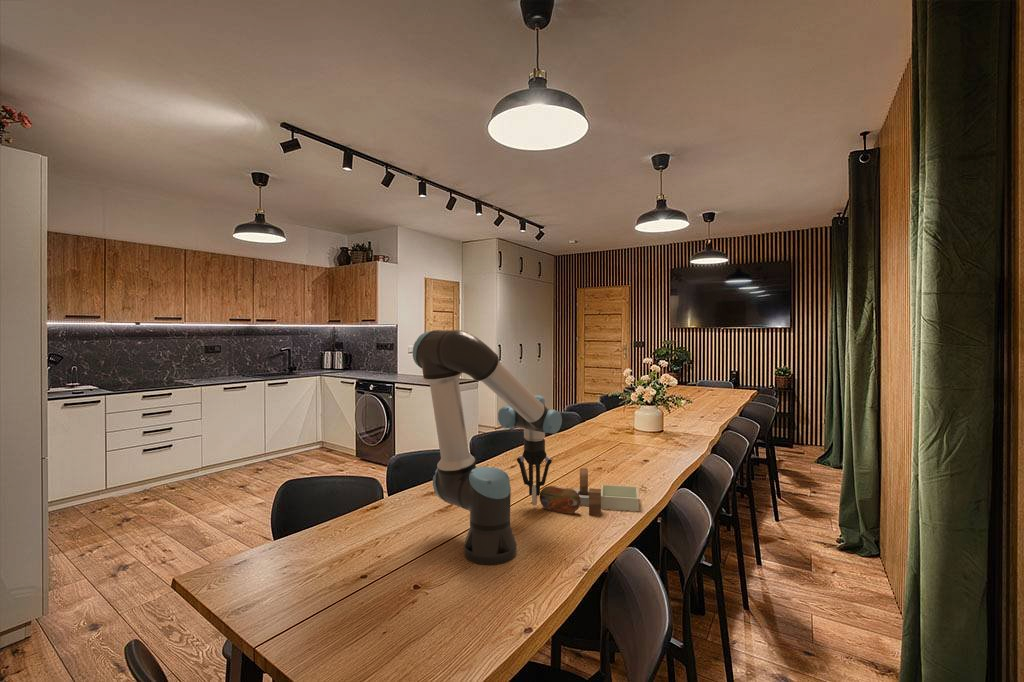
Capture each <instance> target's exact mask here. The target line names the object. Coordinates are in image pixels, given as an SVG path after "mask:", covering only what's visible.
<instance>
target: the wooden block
mask: <svg viewBox="0 0 1024 682" xmlns="http://www.w3.org/2000/svg"><path fill="white" fill-rule="evenodd" d="M588 490H589V506H588V515H589V516H599V517H600V516H601V515H602V509H601V488H592V487H591V488H590V487H588Z"/></svg>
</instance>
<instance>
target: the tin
mask: <svg viewBox="0 0 1024 682" xmlns="http://www.w3.org/2000/svg"><path fill="white" fill-rule="evenodd" d="M573 489H574V488H569V487H563V486H555V485H548V486H546V487H543V488H542V489H540V494H539V502H540V504H541V506H542V507H543V508H544V509H545V510H547V511H550V512H551V511H552V512H557V513H562V514H569V515H571V514H572V515H573V514H574V513H576V512H577V510H579V509H580V507H581V505H580V503H581V501H580V496H579V494H578V493H577V492H576V491H575V490H573Z"/></svg>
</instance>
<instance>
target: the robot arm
mask: <svg viewBox="0 0 1024 682" xmlns="http://www.w3.org/2000/svg"><path fill="white" fill-rule="evenodd" d="M412 358H413V361H414V363H415V365H417V366H418V368H420V369H421V370H422V377H423V379H424V381H426V382H427V383H429V388H430V394H431V402H432V407H433V414H434V420H435V428H436V434H437V439H438V445H439V447H438V448H439V453H440V460H439V461H438V462H437V465H436V467H437V468H436V470H435V471H434V473H435V474H434V475H433V477H432V487H433V490H434V494H435V495H436V496H437V497H438V498H439V499H441V500H442V501H444V502H445V503H447V504H449V505H454V506H456V507H459V508H461V509H463V510H467V511H469V528H468V531H467V534H466V538H465V541H464V544H463V555H464V557H465V558H466V559H467V560H468V561H469V562H472V563H474V564H479V565H486V566H487V565H499V564H503V563H507V562H510V561H511V560H512V559H514V558H515V557H516V556H517V542H516V541H517V540H516V538H515V536H514V533H513V530H512V526H511V493H512V492H511V490H512V487H511V479H510V476H509V474H508V473H507V472H506V471H505V470H503V469H500V468H498V467H494V466H492V467H490V466H478V467H477V465H476V458H475V456H473V455H472V454H470V452H469V451H470V450H469V444H468V437H467V429H466V424H465V416H464V409H463V402H462V395H461V394H462V393H461V388H460V382H459V379H460V377H461V376H462V375H463V374H465V375H468V376H469V377H470V378H472V379H473V380H474V381H476V382H482V383H483V384H484V385H486V386H487V387H488V388H489V389H490V390H491V391H492V392H493V393H494V394H496V395H497V396H498V397H499V398H500V399H501V400H503V402H505V404H507V405H505V406H501V407H500V409H499V410H498V411H497V420H498V423H499V425H500V426H501V427H502V428H504V429H513V428H520V429H523V438H524V439H523V452H522V454H521V455H519V456H517V458H516V462H517V463H518V465H519V468H520V472H521V476H522V481H523V484H524V485H527V486H528V493H529V494H528V495H529V496H531V506H537V504H538V496H539V497H540V492H541V487H542V486H545V484H546V481H547V475H548V472H549V468H550V465H551V464H552V462H553V458H552V457H550V456H548V455H547V452H546V439H545V438H546V434H556V433H558V432H559V431H560V429H561V426H562V423H563V418H562V414H561V413H560V412H559V411H558V410H556V409H553V408H548V407H547V406H546V403H545V402H546V401H545V397H544V396H543V395H540V394H539V395H536V394H533V393H532V392H531V391H530V390H529V389H528V388H527V387H526V386H525V385H523V383H522V382H521V381H520V380H519V379H518V378H517V377H515V376H514V375H513V374H512V372H510V371H509V370H508V369H507V368H506V367H505V366H504V365H503V364H502V363H501V362H500V357H499V355H498V354H497V353H496V352H495V351H493V349H492V348H491V347H490V346H488V345H487V344H486V343H484V342H483V341H482V340H481V339H480V338H478V337H476V336H475V335H473V334H471V333H469V332H468V331H465V330H461V329H460V330H459V329H457V330H455V329H454V330H453V329H452V330H442V329H435V330H434V329H433V330H429V331H426V332H423V333H422V334H420V335H419V336H418V337H417V339H416V340H415V342H414V344H413V347H412ZM544 460H545V461H544ZM524 461H525V462H526V463H527V465H528V474H527V470H526V466H525V462H524ZM543 462H545V466H544V471H543V473H542V478H541V464H542V463H543ZM534 466H535V484H534Z"/></svg>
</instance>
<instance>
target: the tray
mask: <svg viewBox="0 0 1024 682" xmlns="http://www.w3.org/2000/svg"><path fill="white" fill-rule="evenodd" d="M600 489H601V510H608V509H610V511H622V510H630V511H629V512H636V511H639V512H640V497H639V496H640V495H639V492H638V486H631V485H629V486H628V485H613V484H612V485H611V484H601V488H600Z"/></svg>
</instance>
